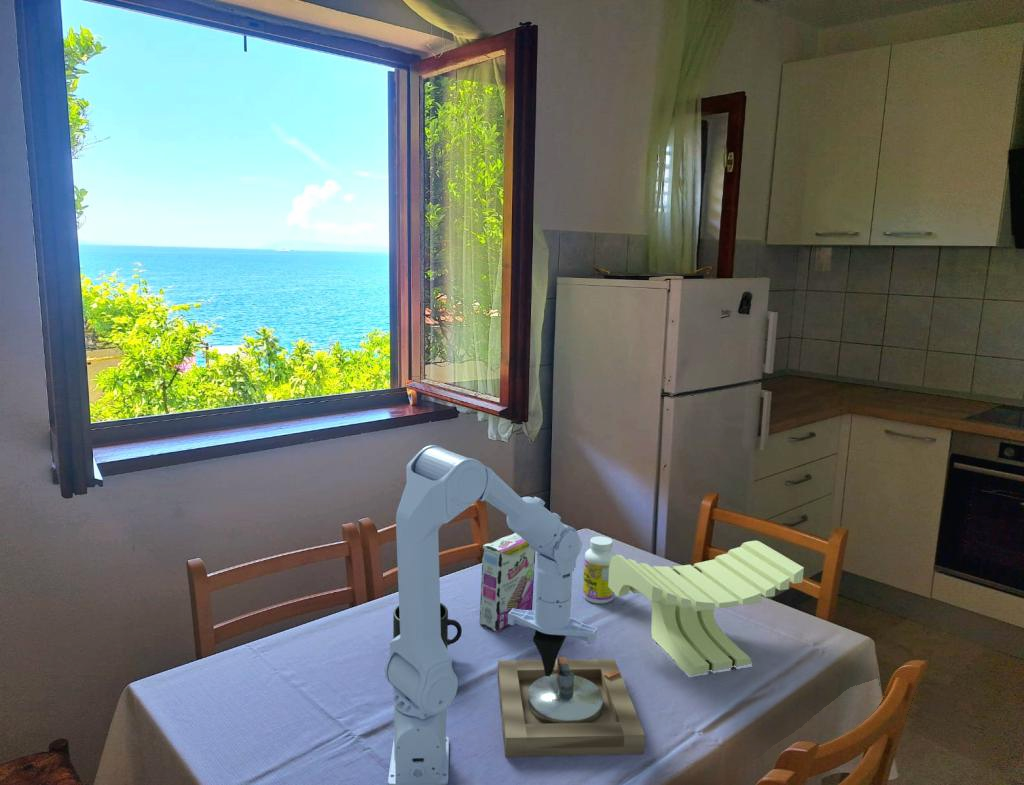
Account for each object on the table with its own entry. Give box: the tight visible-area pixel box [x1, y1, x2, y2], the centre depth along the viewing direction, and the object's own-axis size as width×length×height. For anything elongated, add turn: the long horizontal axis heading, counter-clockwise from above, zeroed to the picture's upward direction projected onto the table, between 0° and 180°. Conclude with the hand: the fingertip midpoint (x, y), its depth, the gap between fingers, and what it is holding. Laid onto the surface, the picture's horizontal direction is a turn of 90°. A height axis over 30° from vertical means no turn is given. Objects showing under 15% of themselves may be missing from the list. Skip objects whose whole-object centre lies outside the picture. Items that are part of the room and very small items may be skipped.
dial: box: [528, 657, 603, 724], centre depth 111 cm, size 12×12×5 cm
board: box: [496, 657, 646, 758], centre depth 111 cm, size 20×20×4 cm
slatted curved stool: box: [608, 540, 805, 676], centre depth 130 cm, size 30×16×18 cm, turn 108°
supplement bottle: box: [582, 536, 617, 605], centre depth 149 cm, size 7×7×13 cm
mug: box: [392, 602, 463, 649], centre depth 124 cm, size 9×12×9 cm
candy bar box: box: [479, 532, 536, 633], centre depth 139 cm, size 11×5×16 cm, turn 141°
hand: (549, 673), depth 115 cm, fingers closed
